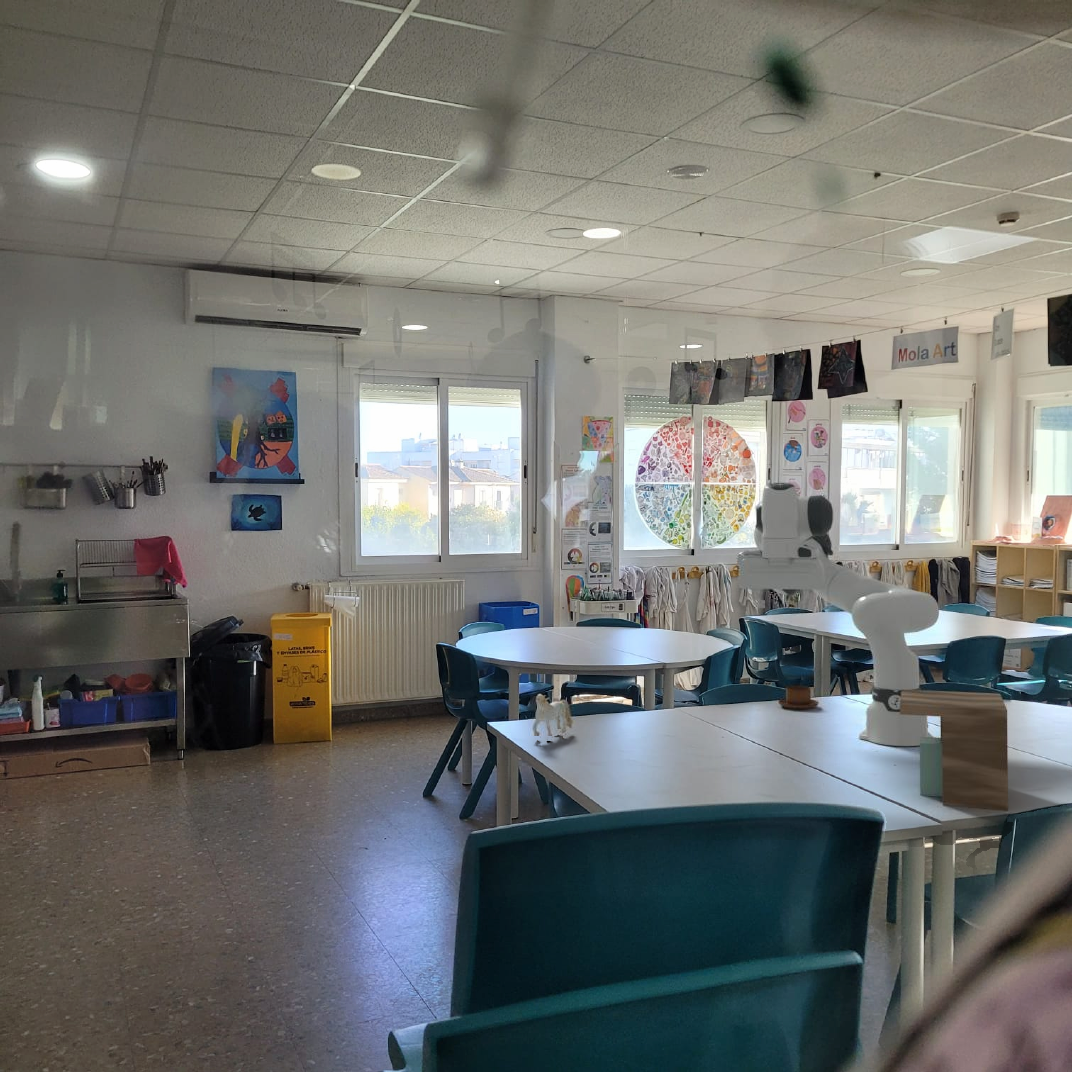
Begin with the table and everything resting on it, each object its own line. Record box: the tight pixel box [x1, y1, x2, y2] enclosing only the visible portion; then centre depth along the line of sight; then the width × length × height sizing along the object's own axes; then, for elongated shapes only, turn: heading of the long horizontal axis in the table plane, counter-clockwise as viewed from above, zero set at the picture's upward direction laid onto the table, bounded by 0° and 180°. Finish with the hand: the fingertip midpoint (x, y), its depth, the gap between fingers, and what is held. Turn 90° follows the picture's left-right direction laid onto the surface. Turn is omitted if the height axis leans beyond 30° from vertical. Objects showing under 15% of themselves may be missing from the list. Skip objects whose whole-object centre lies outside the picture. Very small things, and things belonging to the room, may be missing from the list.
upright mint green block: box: [919, 736, 943, 798], centre depth 210 cm, size 6×6×11 cm
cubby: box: [900, 689, 1009, 811], centre depth 209 cm, size 19×20×20 cm
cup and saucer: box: [777, 685, 820, 710], centre depth 305 cm, size 12×12×6 cm
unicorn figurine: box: [532, 693, 574, 737], centre depth 265 cm, size 7×20×13 cm, turn 159°
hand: (781, 608), depth 237 cm, fingers open, 8 cm apart
